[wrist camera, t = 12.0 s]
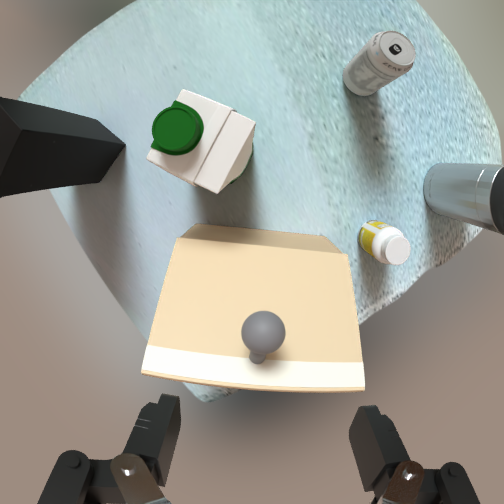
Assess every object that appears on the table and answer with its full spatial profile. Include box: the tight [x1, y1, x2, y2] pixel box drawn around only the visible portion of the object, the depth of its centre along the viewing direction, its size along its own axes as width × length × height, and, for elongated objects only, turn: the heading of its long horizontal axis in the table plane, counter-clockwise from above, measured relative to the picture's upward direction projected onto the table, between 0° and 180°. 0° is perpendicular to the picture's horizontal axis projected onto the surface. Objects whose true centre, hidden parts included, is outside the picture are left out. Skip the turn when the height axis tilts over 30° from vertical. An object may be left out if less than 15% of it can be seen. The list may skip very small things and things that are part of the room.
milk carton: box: [147, 89, 256, 194], centre depth 33 cm, size 9×9×20 cm
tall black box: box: [0, 97, 126, 198], centre depth 29 cm, size 8×8×28 cm
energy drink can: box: [343, 31, 416, 96], centre depth 32 cm, size 6×6×15 cm
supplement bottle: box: [358, 220, 411, 265], centre depth 41 cm, size 5×5×10 cm
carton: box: [180, 224, 343, 254], centre depth 42 cm, size 20×16×12 cm
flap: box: [141, 238, 365, 393], centre depth 26 cm, size 20×16×7 cm
